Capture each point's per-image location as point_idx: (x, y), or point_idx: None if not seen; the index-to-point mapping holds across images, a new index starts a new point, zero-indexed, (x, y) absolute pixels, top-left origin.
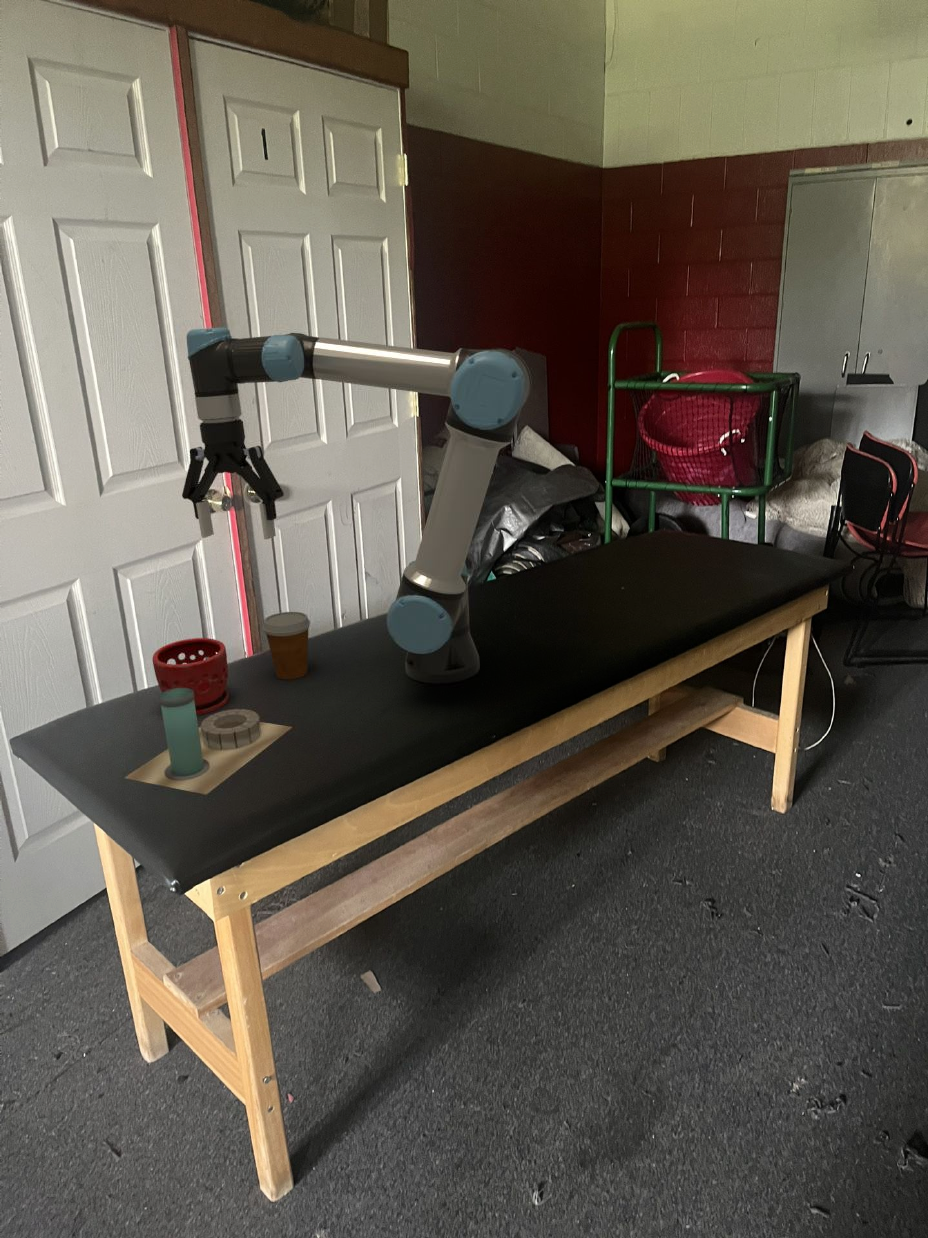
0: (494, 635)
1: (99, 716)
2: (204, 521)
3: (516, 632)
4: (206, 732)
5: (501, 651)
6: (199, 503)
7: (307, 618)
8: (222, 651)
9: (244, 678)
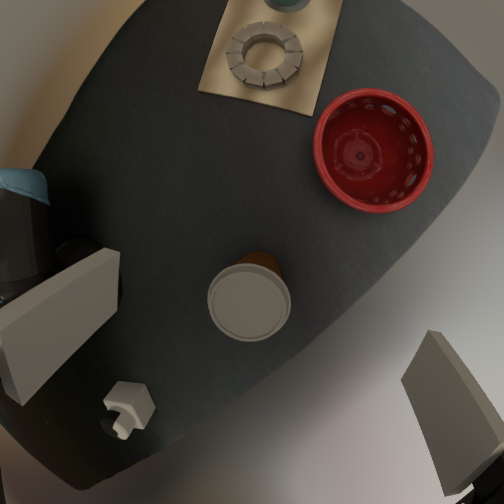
0: (78, 358)
1: (463, 141)
2: (448, 384)
3: (66, 360)
4: (283, 25)
5: None
6: (499, 442)
7: (210, 312)
8: (314, 147)
9: (324, 256)
